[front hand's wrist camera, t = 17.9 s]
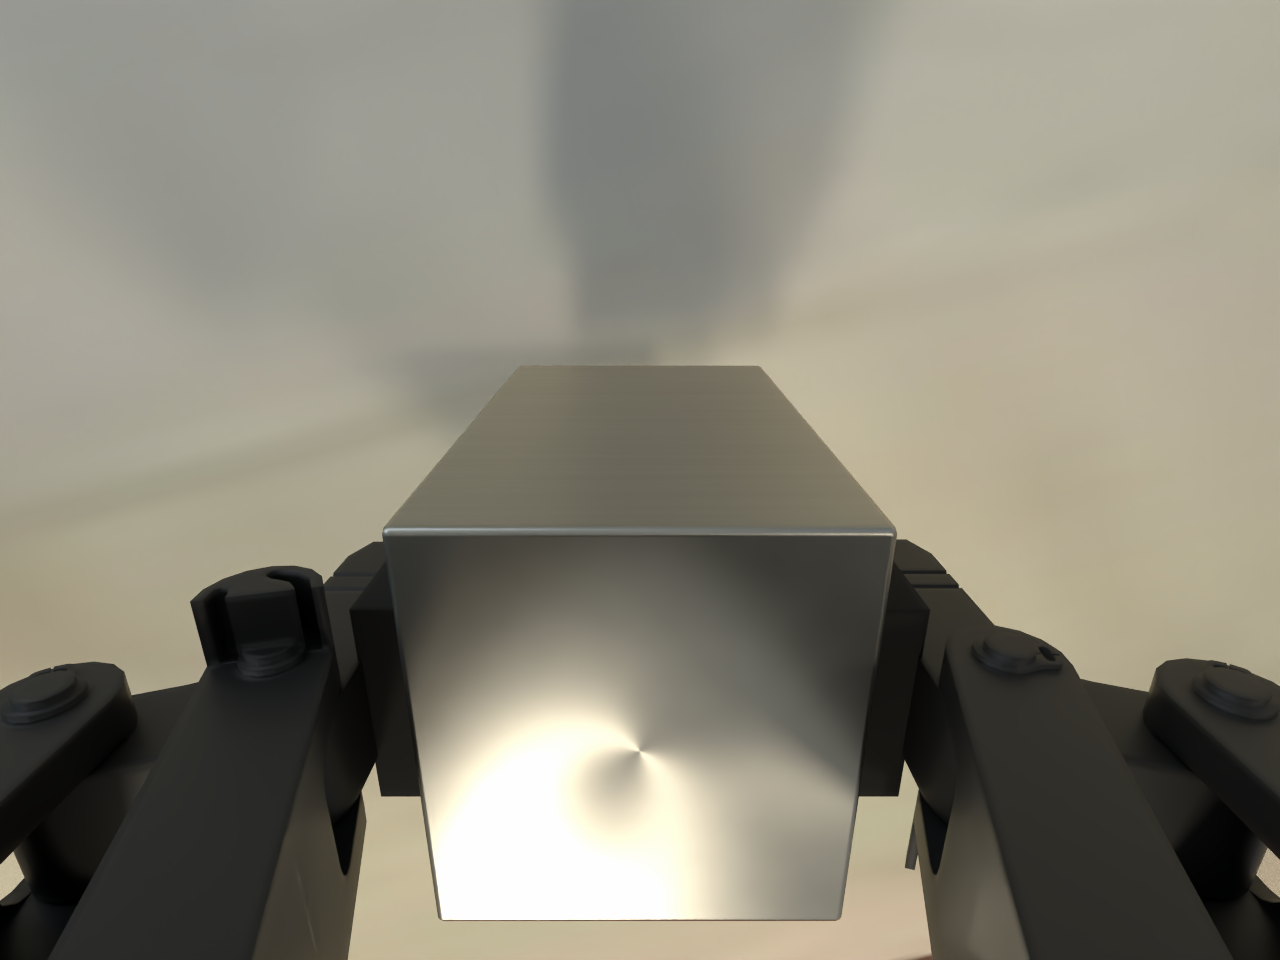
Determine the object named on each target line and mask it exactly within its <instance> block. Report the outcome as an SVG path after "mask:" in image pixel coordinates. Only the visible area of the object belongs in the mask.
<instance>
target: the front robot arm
mask: <svg viewBox="0 0 1280 960" xmlns="http://www.w3.org/2000/svg"><path fill="white" fill-rule="evenodd" d="M190 603H191V607H192V611H193V615H194V618H195V622H196V626H197V630H198V633H199V637H200V641H201V645H202V648H203V652H204V656H205V660H206V663H207V668H206V670H205V671H204V673H203V675H202V677H201V679H200V681H199V682H197V683H193V684H189V685H184V686H179V687H174V688H168V689H163V690H158V691H152V692H147V693H142V694H137V695H131V692H130V689H129V686H128V683H127V680H126V676H125V673H124V671H122V670H121V669H119V668H118V667H117V666H115V665H114V664H108V663H100V662H87V663H78V664H65V665H60V666H55V667H54V669H51V668H48V669H45V670H41V671H38V672H35V673H33V674H31V675H30V676H29V677H27V678H25V679H22V680H20V681H17V682H15V683H13V684H10V685H8V686H6V687H5V688H3V689H2V690H0V864H1V863H2V862H3V861H4V860H5V859H6V858H7V857H8V856H9V855H10V854H11V853H12V852H14V854H15V856H16V859H17V861H18V863H19V866H20V868H21V870H22V873H23V875H24V877H25V878H24V879H23V880H22V881H21V882H20V883H19V884H18V886H17V887H16V888H15V889H14V890H13V891H12V892H11V893H10V894H8V895H7V896H6V897H4V898H3V899H2V900H1V901H0V960H348V953H349V945H350V938H351V931H352V923H353V916H354V909H355V902H356V894H357V887H358V880H359V873H360V865H361V858H362V851H363V843H364V836H365V829H366V814H365V807H364V802H363V796H362V791H361V790H362V788H363V786H364V784H365V782H366V780H367V778H368V776H369V774H370V772H371V770H372V768H373V766H374V764H375V763H376V769H377V774H378V780H379V786H380V792H381V796H420V789H419V782H418V775H417V769H416V762H415V755H414V748H413V741H412V734H411V728H410V721H409V714H408V707H407V700H406V693H405V686H404V680H403V673H402V666H401V659H400V652H399V645H398V639H397V632H396V625H395V618H394V611H393V604H392V598H391V591H390V584H389V577H388V570H387V563H386V557H385V550H384V543H383V542H372V543H371V544H369V545H367V546H365V547H364V548H362V549H360V550H358V551H357V552H355V553H353V554H351V555H350V556H348V557H347V558H346V559H345V561H344V562H343V563H342V564H341V565H340V566H339V568H338V569H337V570H336V571H335V572H334V575H333V577H330V578H329V579H328V580H327V581H326V582H325V584H324V585H323V580H322V576H321V575H319V574H318V573H317V572H315V571H314V570H312V569H309V568H303V567H298V566H271V567H266V568H260V569H255V570H249V571H245V572H242V573H239V574H236V575H233V576H230V577H227V578H224V579H222V580H220V581H218V582H216V583H215V584H213V585H211V586H209V587H207V588H205V589H203V590H202V591H201V592H200V593H199V594H198V595H197V596H196V597H195V598H194V599H192V600H191V601H190ZM904 760H905V761H906V763H907V765H908V767H909V769H910V771H911V773H912V775H913V777H914V779H915V781H916V783H917V786H918V788H919V791H918V796H917V802H916V807H915V813H914V818H913V823H912V829H911V834H910V840H909V845H908V850H907V857H906V864H905V868H908V869H912V870H915V865H916V860H917V855H918V856H919V864H920V871H921V878H922V885H923V893H924V900H925V907H926V914H927V922H928V929H929V936H930V943H931V951H932V958H933V960H1280V898H1279V897H1278V896H1277V895H1276V894H1275V893H1273V892H1272V891H1271V890H1270V889H1269V888H1268V887H1267V886H1266V885H1265V884H1264V883H1263V882H1262V881H1261V880H1260V879H1259V877H1258V876H1257V875H1256V873H1257V871H1258V869H1259V866H1260V864H1261V862H1262V859H1263V857H1264V855H1265V852H1266V850H1267V848H1269V849H1270V850H1271V851H1272V852H1273V853H1274V854H1275V855H1276V856H1277V857H1278V858H1279V859H1280V686H1278V685H1277V684H1275V683H1273V682H1272V681H1269V680H1267V679H1264V678H1262V677H1260V676H1257V675H1255V674H1252V673H1251V672H1250V671H1248V670H1246V669H1244V668H1241V667H1238V666H1234V665H1231V664H1230V666H1228V665H1227V664H1226V663H1223V662H1218V661H1212V660H1209V661H1206V660H1197V659H1188V658H1185V659H1177V660H1169V661H1166V662H1165V663H1163V664H1162V665H1160V666H1159V667H1158V668H1156V671H1155V674H1154V677H1153V681H1152V684H1151V687H1150V690H1149V692H1145V691H1139V690H1134V689H1129V688H1123V687H1118V686H1113V685H1107V684H1102V683H1097V682H1091V681H1087V680H1083V679H1080V678H1079V676H1078V674H1077V672H1076V670H1075V668H1074V667H1073V665H1072V664H1071V663H1070V662H1069V660H1068V659H1067V658H1066V657H1065V656H1064V655H1063V654H1062V652H1060V651H1059V650H1057V649H1056V648H1054V647H1052V646H1051V645H1049V644H1048V643H1046V642H1045V641H1043V640H1041V639H1039V638H1036V637H1034V636H1031V635H1029V634H1026V633H1024V632H1021V631H1018V630H1013V629H1009V628H1004V627H999V626H995V625H994V624H993V623H992V622H991V621H990V620H989V619H988V617H987V616H986V615H985V614H984V613H983V612H982V611H981V609H980V608H979V607H978V606H977V605H976V604H975V603H974V602H973V600H972V599H971V598H970V597H969V596H968V595H967V594H966V592H965V591H964V590H963V589H962V588H959V584H958V583H957V582H956V581H955V580H954V579H953V578H952V577H951V575H950V574H946V570H945V569H944V567H943V566H942V565H941V564H940V563H939V562H938V561H937V559H936V558H935V557H934V556H933V555H932V554H931V553H929V552H927V551H926V550H924V549H922V548H920V547H919V546H917V545H915V544H913V543H911V542H910V541H908V540H896V544H895V551H894V558H893V565H892V572H891V579H890V585H889V592H888V599H887V606H886V613H885V620H884V626H883V633H882V640H881V647H880V654H879V661H878V668H877V674H876V681H875V688H874V695H873V702H872V709H871V716H870V722H869V729H868V736H867V743H866V750H865V757H864V764H863V770H862V777H861V784H860V791H859V796H898V795H899V789H900V783H901V777H902V771H903V766H904Z"/></svg>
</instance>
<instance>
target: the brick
mask: <svg viewBox="0 0 1280 960" xmlns="http://www.w3.org/2000/svg"><path fill="white" fill-rule="evenodd" d="M382 536H383V543H384V550H385V557H386V563H387V570H388V577H389V584H390V591H391V598H392V604H393V611H394V618H395V625H396V632H397V639H398V645H399V652H400V659H401V666H402V673H403V680H404V686H405V693H406V700H407V707H408V714H409V721H410V728H411V734H412V741H413V748H414V755H415V762H416V769H417V775H418V782H419V789H420V796H421V803H422V810H423V816H424V823H425V830H426V837H427V844H428V851H429V857H430V864H431V871H432V878H433V885H434V892H435V898H436V905H437V912H438V918H439V919H440V920H443V921H836V920H839V919H840V918H841V914H842V907H843V901H844V894H845V887H846V880H847V873H848V866H849V860H850V853H851V846H852V839H853V832H854V825H855V818H856V812H857V805H858V798H859V791H860V784H861V777H862V770H863V764H864V757H865V750H866V743H867V736H868V729H869V722H870V716H871V709H872V702H873V695H874V688H875V681H876V674H877V668H878V661H879V654H880V647H881V640H882V633H883V626H884V620H885V613H886V606H887V599H888V592H889V585H890V579H891V572H892V565H893V558H894V551H895V544H896V537H897V531H896V528H895V526H894V525H893V524H892V523H891V522H890V520H889V519H888V518H887V517H886V516H885V514H884V513H883V512H882V511H881V510H880V509H879V507H878V506H877V505H876V504H875V503H874V501H873V500H872V499H871V498H870V497H869V495H868V494H867V493H866V492H865V491H864V489H863V488H862V487H861V486H860V485H859V483H858V482H857V481H856V480H855V479H854V478H853V476H852V475H851V474H850V473H849V472H848V470H847V469H846V468H845V467H844V466H843V464H842V463H841V462H840V461H839V460H838V458H837V457H836V456H835V455H834V454H833V453H832V451H831V450H830V449H829V448H828V447H827V445H826V444H825V443H824V442H823V441H822V439H821V438H820V437H819V436H818V435H817V433H816V432H815V431H814V430H813V429H812V428H811V426H810V425H809V424H808V423H807V422H806V420H805V419H804V418H803V417H802V416H801V414H800V413H799V412H798V411H797V410H796V408H795V407H794V406H793V405H792V404H791V403H790V401H789V400H788V399H787V398H786V397H785V395H784V394H783V393H782V392H781V391H780V389H779V388H778V387H777V386H776V385H775V383H774V382H773V381H772V380H771V379H770V377H769V376H768V375H767V374H766V373H765V372H764V370H763V369H762V368H761V367H759V366H520V367H518V368H517V370H516V371H515V372H514V373H513V374H512V376H511V377H510V378H509V379H508V380H507V382H506V383H505V384H504V385H503V386H502V387H501V389H500V390H499V391H498V392H497V393H496V395H495V396H494V397H493V398H492V399H491V401H490V402H489V403H488V404H487V405H486V407H485V408H484V409H483V410H482V411H481V412H480V414H479V415H478V416H477V417H476V418H475V420H474V421H473V422H472V423H471V424H470V426H469V427H468V428H467V429H466V430H465V431H464V433H463V434H462V435H461V436H460V437H459V439H458V440H457V441H456V442H455V443H454V445H453V446H452V447H451V448H450V449H449V451H448V452H447V453H446V454H445V455H444V456H443V458H442V459H441V460H440V461H439V462H438V464H437V465H436V466H435V467H434V468H433V470H432V471H431V472H430V473H429V474H428V476H427V477H426V478H425V479H424V480H423V481H422V483H421V484H420V485H419V486H418V487H417V489H416V490H415V491H414V492H413V493H412V495H411V496H410V497H409V498H408V499H407V500H406V502H405V503H404V504H403V505H402V506H401V508H400V509H399V510H398V511H397V512H396V514H395V515H394V516H393V517H392V518H391V520H390V521H389V522H388V523H387V524H386V525H385V527H384V529H383V532H382Z"/></svg>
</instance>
